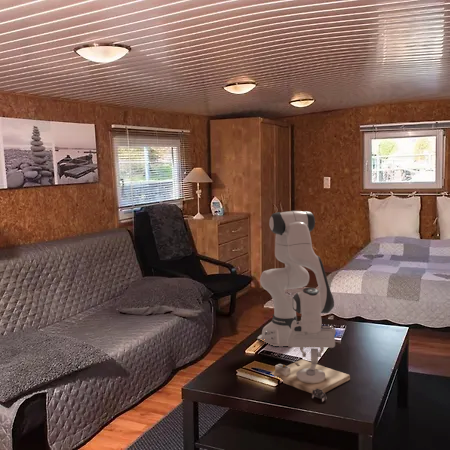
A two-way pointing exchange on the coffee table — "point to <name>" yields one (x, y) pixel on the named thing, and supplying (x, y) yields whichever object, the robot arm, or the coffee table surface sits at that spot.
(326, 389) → the stand board
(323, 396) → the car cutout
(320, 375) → the dial
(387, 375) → the coffee table surface
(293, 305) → the robot arm
